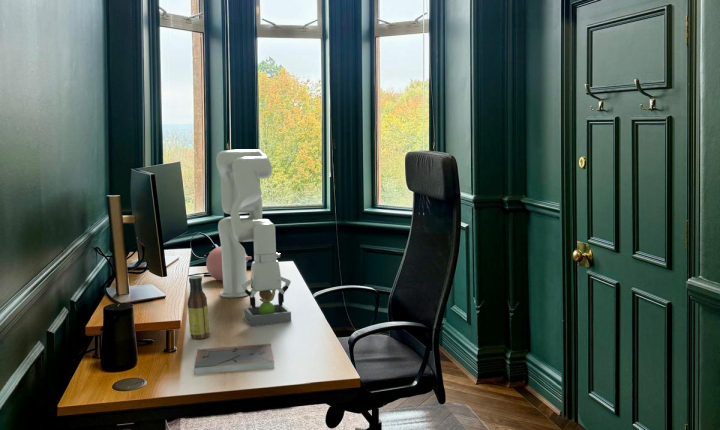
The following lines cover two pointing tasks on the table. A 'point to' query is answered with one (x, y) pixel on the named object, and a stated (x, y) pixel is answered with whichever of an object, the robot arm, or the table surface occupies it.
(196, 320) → the sauce bottle
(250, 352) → the picture frame
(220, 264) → the balloon
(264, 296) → the snail figurine
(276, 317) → the bin
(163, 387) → the table surface
